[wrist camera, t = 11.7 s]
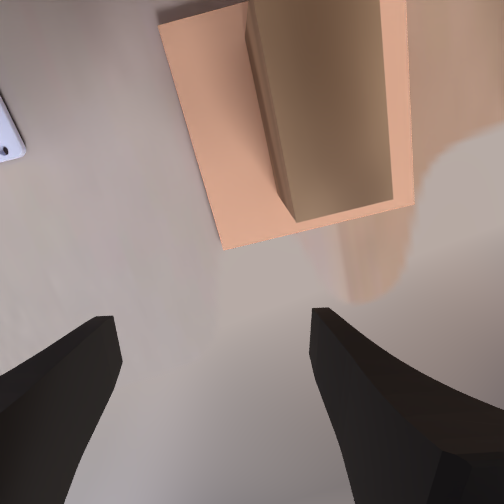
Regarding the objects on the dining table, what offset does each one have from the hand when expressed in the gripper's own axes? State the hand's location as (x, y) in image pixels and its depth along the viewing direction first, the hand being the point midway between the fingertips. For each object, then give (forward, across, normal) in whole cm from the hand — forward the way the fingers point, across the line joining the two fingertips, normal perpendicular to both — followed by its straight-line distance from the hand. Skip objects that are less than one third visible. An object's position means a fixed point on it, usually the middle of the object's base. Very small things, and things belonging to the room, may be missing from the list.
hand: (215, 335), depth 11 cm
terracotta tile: (+9, -4, -7) cm, 13 cm away
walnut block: (+9, -4, -8) cm, 12 cm away
